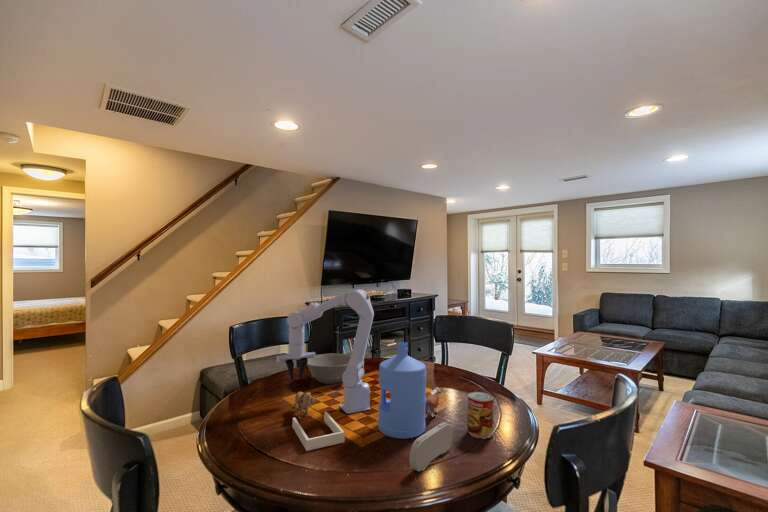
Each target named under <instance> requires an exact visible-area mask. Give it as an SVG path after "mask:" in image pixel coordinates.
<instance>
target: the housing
mask: <svg viewBox="0 0 768 512" xmlns="http://www.w3.org/2000/svg"><path fill="white" fill-rule="evenodd" d="M323 414H324V415H323V421H324V422H325V424H326V425H327V426H328V428H329V429H330V430H331V431H332V433H329V434H324V435H320V436H315V437H310V438H309V437H308V435H307V434H306V432H305V431H304V429H303V427H302V426H301V424H300V423H299V421H298V419H297V418H296V417H292V429H293V430H294V432H295V434H296V435H297V437H298V440H300V443H301V444H302V446H303V448H304V449H305V451H306V452H308V451H312V450H317V449H321V448H325V447H330V446H334V445H339V444H343V443H345V439H346V438H345V433H346V432H345V431H344V430H343V429H342V428H341V426H340V425H339V424H338V423H337V421H336V420H334V418H333V417H332V416H331V415H330V413H329V412H327V411H324V413H323Z"/></svg>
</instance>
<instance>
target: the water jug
mask: <svg viewBox="0 0 768 512" xmlns="http://www.w3.org/2000/svg"><path fill="white" fill-rule="evenodd" d="M397 344H398V348H397V350H398V352H397V355H395V356H392V357H391V358H387V359H385V360H382V361H381V362H380V363H379V369H378V386H379V387H380V402H379V404H378V419H377V426H378V427H377V428H378V431H379V432H380V433H382V434H383V436H384V435H385V436H387V437H388V438H389V437H390V438H392V439H400V440H408V439H409V438H410V439H414V437H415V438H418V437H420V436H422V435H423V434H424V432H425V431H426V419H425V405H426V399H427V395H426V394H427V392H426V390H427V389H426V388H427V385H426V384H427V383H426V382H427V366H426V364H425V363H424V362H422V361H420V360H418V359H416V358H414V357H412V356H409V354H408V350H409V348H408V345H409V344H408V342H405V341H401V342H398V343H397ZM387 392H388V393H389V395H390V398H389V399H386V398H387ZM419 435H420V436H419ZM417 436H418V437H417Z"/></svg>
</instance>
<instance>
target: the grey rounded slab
mask: <svg viewBox="0 0 768 512" xmlns="http://www.w3.org/2000/svg"><path fill="white" fill-rule="evenodd" d="M453 437H454V431H453V427H452V426H451V425H450V424H449V423H447V422H444V421H443V422H441V423H439V424H438V425H436V426H435V427H433V428H432V429H429V430H428V431H426V432H425V433H422V434H421V435H420V436H418V437H416V439H415V440H414V442H413V443H412V445H411V447H410V452H409V460H408V461H409V466H410V467H411V469H412V470H414V471H416V472H420V471H422V470H423V469H424V468H425V467H426V468H427V467H428V466H429V464H430V463H431V462H432V461H433V460H435V459H436V458H437V457H438V456H440V455H444V454H443V453H444V452H445V451H446V450H447V449H449V448H450V449H451V447H452V443H453ZM450 449H449V450H450ZM423 471H424V470H423ZM423 471H422V472H423ZM420 473H421V472H420Z"/></svg>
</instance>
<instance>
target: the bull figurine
mask: <svg viewBox="0 0 768 512" xmlns="http://www.w3.org/2000/svg"><path fill="white" fill-rule="evenodd" d="M442 395H443V393H442V391H441V389H440V388H439V387H435V388H434V387H432V388H431V392H430V393H429V394H428V396H426V405H425V418H427V419H428V413H430V415H431V417H432V418H433V417H434V416H435V411H437V412H438V410H437V409H438V405H439V401H440V400H439V399H440V398H439V396H442Z"/></svg>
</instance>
